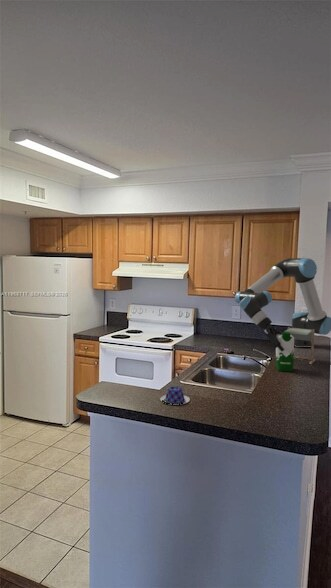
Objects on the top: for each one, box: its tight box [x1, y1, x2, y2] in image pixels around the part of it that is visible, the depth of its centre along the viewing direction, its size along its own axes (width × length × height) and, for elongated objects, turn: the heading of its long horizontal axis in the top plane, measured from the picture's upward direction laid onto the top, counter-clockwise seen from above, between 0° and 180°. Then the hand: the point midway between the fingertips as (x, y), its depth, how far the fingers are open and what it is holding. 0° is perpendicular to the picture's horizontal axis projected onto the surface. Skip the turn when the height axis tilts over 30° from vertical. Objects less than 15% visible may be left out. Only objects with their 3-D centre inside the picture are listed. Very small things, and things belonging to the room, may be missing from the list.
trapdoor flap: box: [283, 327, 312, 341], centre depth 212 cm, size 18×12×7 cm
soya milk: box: [275, 331, 295, 372], centre depth 197 cm, size 9×9×20 cm
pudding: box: [159, 385, 191, 405], centre depth 152 cm, size 12×12×5 cm
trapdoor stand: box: [287, 326, 316, 365], centre depth 216 cm, size 10×15×19 cm
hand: (290, 353), depth 196 cm, fingers closed on soya milk, 9 cm apart
